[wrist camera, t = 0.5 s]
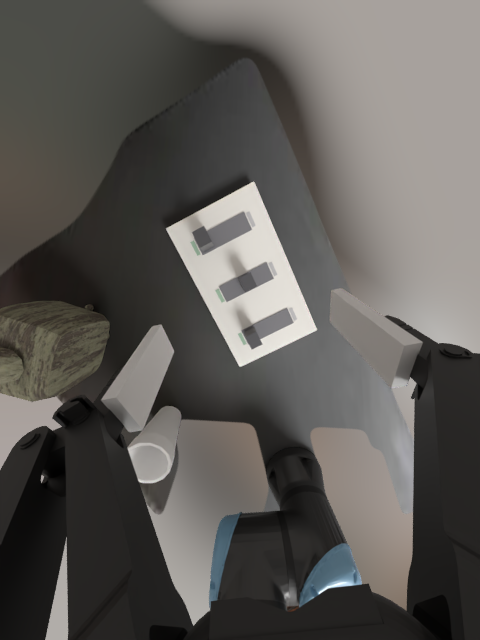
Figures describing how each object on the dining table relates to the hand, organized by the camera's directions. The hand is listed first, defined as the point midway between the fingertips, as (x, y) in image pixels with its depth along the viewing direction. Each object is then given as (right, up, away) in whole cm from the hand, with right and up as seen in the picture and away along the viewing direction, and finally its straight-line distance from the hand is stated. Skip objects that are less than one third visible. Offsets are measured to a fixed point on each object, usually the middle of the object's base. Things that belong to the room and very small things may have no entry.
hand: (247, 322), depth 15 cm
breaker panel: (+1, +9, +28) cm, 30 cm away
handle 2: (+2, -3, +28) cm, 28 cm away
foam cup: (-19, -25, +34) cm, 47 cm away
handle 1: (-8, +16, +24) cm, 30 cm away
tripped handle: (+1, +8, +25) cm, 27 cm away
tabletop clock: (-34, -3, +30) cm, 45 cm away
